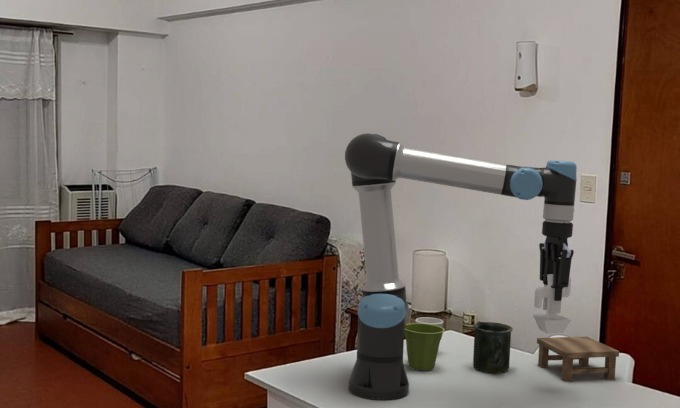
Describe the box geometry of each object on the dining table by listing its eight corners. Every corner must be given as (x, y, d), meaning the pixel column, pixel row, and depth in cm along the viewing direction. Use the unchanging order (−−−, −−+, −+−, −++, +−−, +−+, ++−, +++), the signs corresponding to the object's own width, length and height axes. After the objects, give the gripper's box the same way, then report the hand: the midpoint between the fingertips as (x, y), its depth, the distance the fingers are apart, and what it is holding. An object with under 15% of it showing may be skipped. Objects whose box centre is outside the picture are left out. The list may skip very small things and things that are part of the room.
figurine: (528, 328, 199) (530, 271, 198) (561, 327, 201) (563, 271, 200) (540, 335, 192) (542, 276, 191) (574, 334, 194) (577, 276, 193)
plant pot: (433, 376, 205) (435, 335, 204) (393, 368, 210) (395, 328, 210) (449, 366, 215) (451, 326, 214) (411, 359, 221) (412, 320, 220)
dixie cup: (446, 352, 229) (447, 319, 229) (435, 358, 222) (436, 324, 221) (421, 347, 234) (422, 315, 233) (409, 353, 226) (410, 320, 226)
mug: (505, 363, 220) (507, 322, 219) (517, 378, 205) (519, 335, 204) (468, 362, 220) (470, 321, 219) (477, 377, 205) (479, 333, 204)
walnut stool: (564, 382, 203) (566, 353, 203) (535, 365, 219) (537, 337, 218) (617, 380, 207) (619, 351, 206) (585, 363, 223) (586, 336, 222)
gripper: (588, 224, 188) (581, 318, 189) (555, 218, 203) (549, 304, 205) (560, 224, 186) (553, 318, 188) (529, 217, 201) (523, 304, 203)
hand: (551, 311), depth 196 cm, fingers closed on figurine, 3 cm apart
